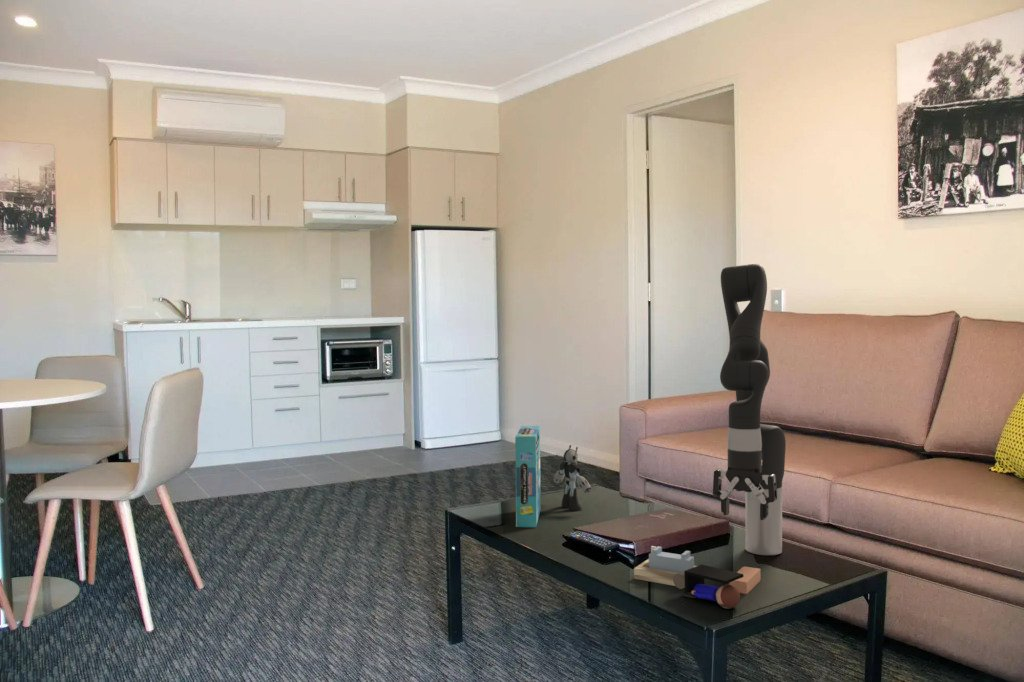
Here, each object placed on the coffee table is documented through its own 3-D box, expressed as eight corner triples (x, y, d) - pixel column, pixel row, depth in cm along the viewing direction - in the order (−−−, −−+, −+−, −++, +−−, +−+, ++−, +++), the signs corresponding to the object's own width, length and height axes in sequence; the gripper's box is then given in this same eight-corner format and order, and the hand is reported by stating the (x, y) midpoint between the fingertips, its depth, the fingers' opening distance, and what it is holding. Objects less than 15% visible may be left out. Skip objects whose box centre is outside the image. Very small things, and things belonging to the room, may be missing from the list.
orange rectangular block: (743, 578, 199) (743, 566, 199) (760, 581, 197) (760, 568, 197) (729, 592, 190) (729, 579, 190) (746, 595, 188) (746, 582, 188)
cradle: (649, 568, 207) (649, 558, 207) (704, 577, 200) (704, 567, 199) (634, 578, 200) (634, 568, 199) (690, 588, 192) (690, 577, 192)
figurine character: (672, 602, 187) (728, 614, 176) (669, 568, 188) (725, 576, 176) (692, 596, 192) (748, 606, 180) (689, 562, 192) (744, 570, 180)
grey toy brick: (654, 568, 203) (654, 544, 203) (694, 575, 198) (694, 550, 198) (648, 572, 201) (648, 548, 200) (689, 579, 195) (688, 554, 195)
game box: (521, 510, 267) (520, 425, 266) (541, 510, 267) (540, 425, 266) (515, 527, 247) (514, 436, 246) (537, 527, 246) (535, 436, 245)
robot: (548, 503, 277) (548, 442, 276) (561, 501, 279) (560, 441, 278) (582, 515, 260) (581, 451, 259) (595, 513, 262) (594, 449, 261)
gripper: (708, 447, 193) (708, 516, 194) (771, 452, 185) (771, 524, 186) (719, 442, 199) (719, 510, 200) (780, 447, 192) (780, 517, 192)
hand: (744, 517), depth 193 cm, fingers open, 8 cm apart
